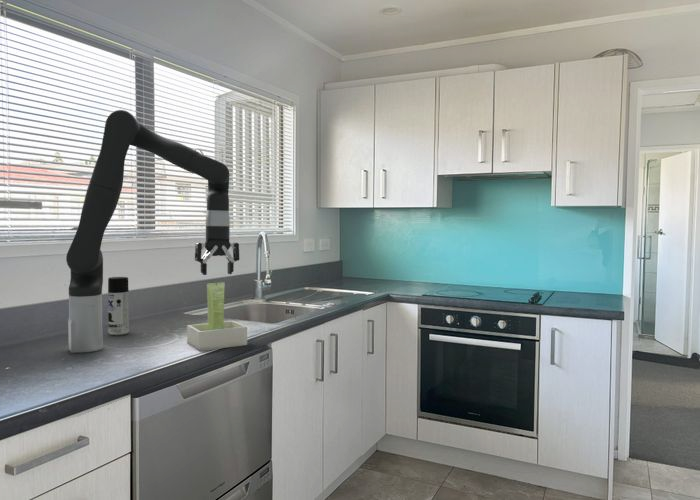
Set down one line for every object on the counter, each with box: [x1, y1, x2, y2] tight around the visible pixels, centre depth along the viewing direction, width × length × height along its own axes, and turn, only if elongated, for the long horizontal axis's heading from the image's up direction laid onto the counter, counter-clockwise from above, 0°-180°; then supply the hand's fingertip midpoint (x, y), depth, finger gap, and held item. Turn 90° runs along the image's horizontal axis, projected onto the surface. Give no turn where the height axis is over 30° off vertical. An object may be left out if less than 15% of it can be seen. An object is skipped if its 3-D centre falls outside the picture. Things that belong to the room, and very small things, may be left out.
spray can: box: [107, 276, 130, 336], centre depth 188 cm, size 7×7×20 cm
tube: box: [206, 281, 226, 330], centre depth 174 cm, size 6×5×20 cm
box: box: [186, 320, 248, 352], centre depth 174 cm, size 16×12×6 cm
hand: (217, 274), depth 173 cm, fingers open, 8 cm apart
